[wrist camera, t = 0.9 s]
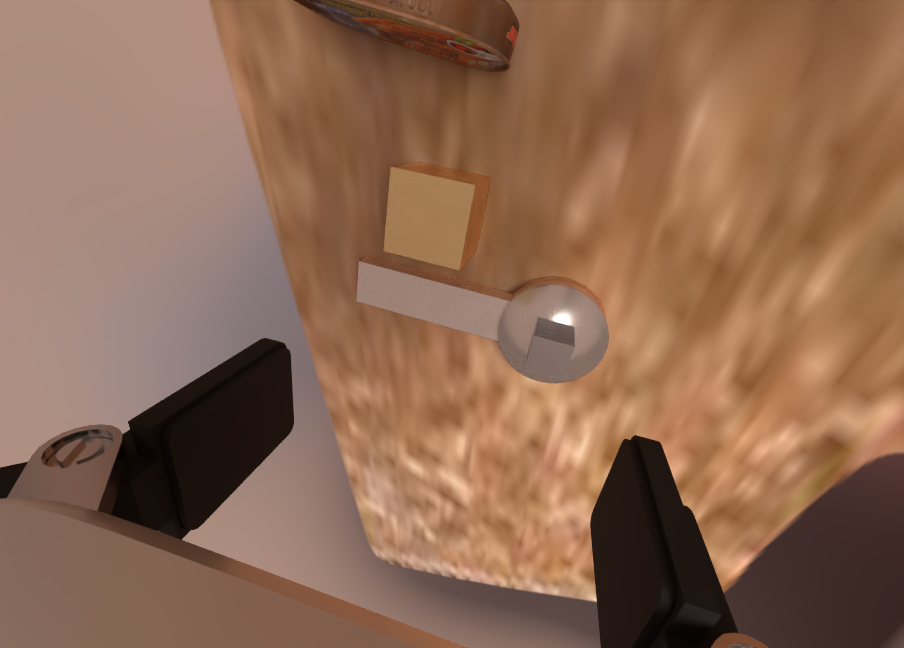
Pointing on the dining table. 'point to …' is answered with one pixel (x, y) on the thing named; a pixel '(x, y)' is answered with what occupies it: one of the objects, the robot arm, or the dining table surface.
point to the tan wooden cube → (435, 213)
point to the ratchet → (500, 315)
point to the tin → (433, 26)
